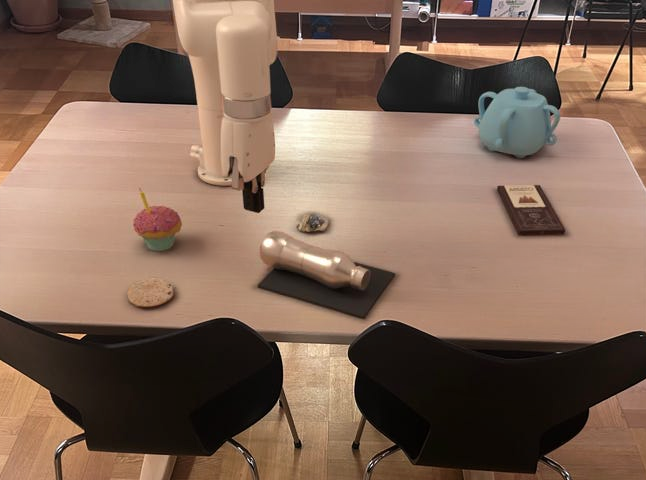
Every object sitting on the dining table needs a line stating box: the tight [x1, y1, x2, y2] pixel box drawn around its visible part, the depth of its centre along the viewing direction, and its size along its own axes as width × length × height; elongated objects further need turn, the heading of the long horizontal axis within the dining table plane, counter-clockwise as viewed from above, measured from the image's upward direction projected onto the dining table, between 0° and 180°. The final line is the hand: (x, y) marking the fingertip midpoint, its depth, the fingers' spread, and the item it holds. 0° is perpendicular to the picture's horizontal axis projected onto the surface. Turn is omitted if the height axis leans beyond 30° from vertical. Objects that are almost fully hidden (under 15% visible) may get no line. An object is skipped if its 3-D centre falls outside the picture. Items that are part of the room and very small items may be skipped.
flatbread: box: [127, 277, 174, 308], centre depth 122 cm, size 8×8×1 cm
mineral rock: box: [295, 213, 330, 233], centre depth 140 cm, size 7×8×2 cm
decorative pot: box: [473, 86, 561, 159], centre depth 163 cm, size 16×16×14 cm
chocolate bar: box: [496, 184, 566, 236], centre depth 145 cm, size 9×1×18 cm
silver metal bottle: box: [259, 230, 370, 290], centre depth 123 cm, size 6×7×20 cm
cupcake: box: [132, 187, 183, 252], centre depth 130 cm, size 9×8×12 cm
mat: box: [257, 261, 396, 320], centre depth 126 cm, size 20×14×1 cm
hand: (254, 209), depth 123 cm, fingers closed
